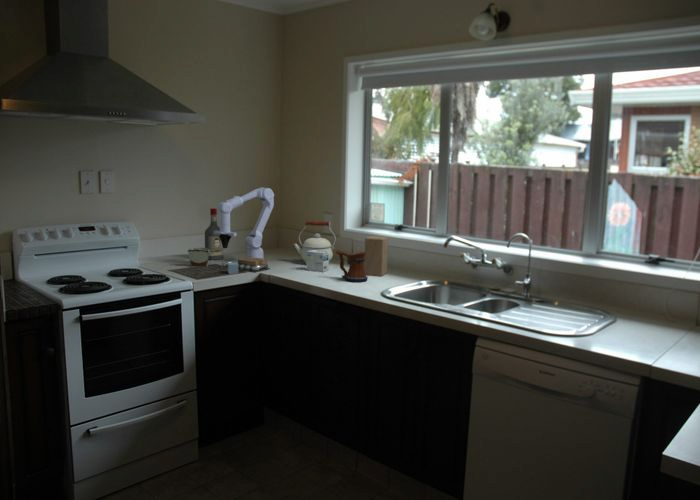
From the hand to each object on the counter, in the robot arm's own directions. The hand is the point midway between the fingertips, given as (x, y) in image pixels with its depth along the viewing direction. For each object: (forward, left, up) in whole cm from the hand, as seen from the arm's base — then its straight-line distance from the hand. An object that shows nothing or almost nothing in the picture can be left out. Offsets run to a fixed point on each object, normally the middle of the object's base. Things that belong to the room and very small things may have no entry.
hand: (225, 248), depth 328 cm
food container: (+9, -10, -10) cm, 17 cm away
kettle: (-36, +36, -10) cm, 52 cm away
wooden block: (-28, +80, -10) cm, 85 cm away
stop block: (+11, +15, -8) cm, 20 cm away
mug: (-8, +76, -10) cm, 77 cm away
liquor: (-12, -19, -10) cm, 25 cm away
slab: (-1, +19, -7) cm, 20 cm away
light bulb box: (-19, +49, -10) cm, 54 cm away
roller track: (0, +14, -10) cm, 17 cm away
